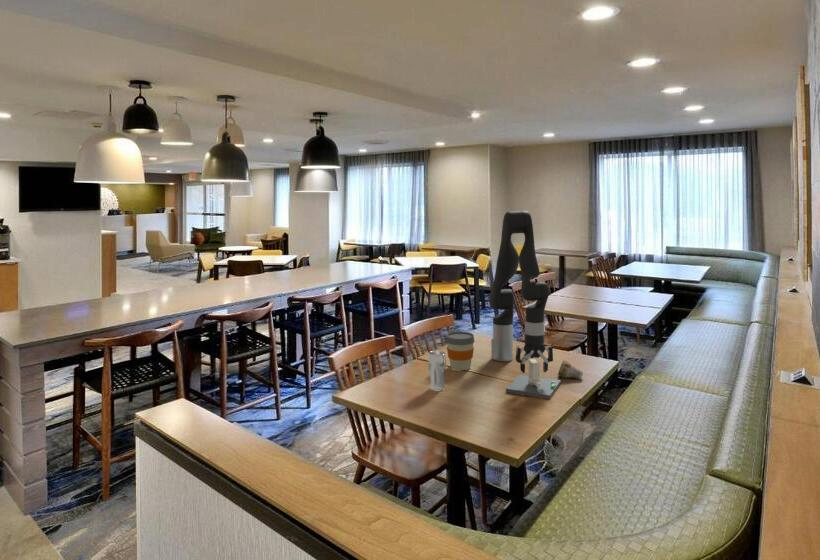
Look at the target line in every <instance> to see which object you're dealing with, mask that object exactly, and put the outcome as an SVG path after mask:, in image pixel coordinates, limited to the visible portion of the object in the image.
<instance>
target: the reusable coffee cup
mask: <svg viewBox="0 0 820 560" xmlns="http://www.w3.org/2000/svg"><path fill="white" fill-rule="evenodd" d="M445 342H446V343H447V347H446V351H447V357H448V360H449V365H450V369H451V368H452V369H451V370H453V369H455V370H454V371H456V370H465V371H468V370H467V369H469V368H470V367H471V366H472V358H473V357H474V349H475V347H474V343H475V336H474V334H473V333H472V332H465V331H455V332H454V331H453V332H450V333H447V334H446V339H445ZM470 369H471V368H470ZM470 369H469V370H470Z"/></svg>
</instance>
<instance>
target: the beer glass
mask: <svg viewBox="0 0 820 560" xmlns="http://www.w3.org/2000/svg"><path fill="white" fill-rule="evenodd" d="M427 359H428V361H427V363H428V366H427V367H428V372H429V376H430V377H429V378H430V384H429V385H430V386H429V389H430V388H431V389H433V390H443V389H444V388H445V389H446V386H445V373H446V364H447V360H446V352H445V351H443V350H431V351H429V352H428V358H427ZM445 389H444V390H445ZM444 390H443V391H444Z"/></svg>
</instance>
